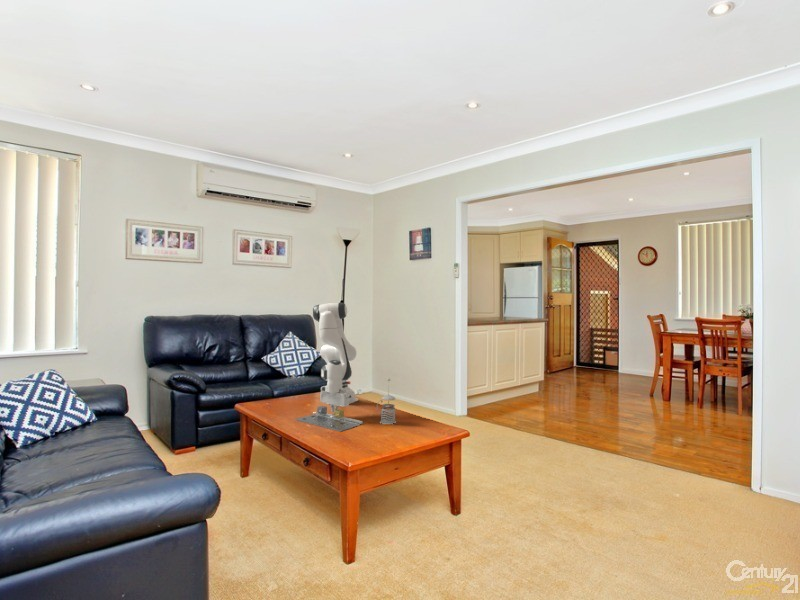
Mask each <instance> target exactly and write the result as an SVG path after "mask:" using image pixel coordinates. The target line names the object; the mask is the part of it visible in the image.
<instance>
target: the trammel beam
mask: <svg viewBox="0 0 800 600" xmlns="http://www.w3.org/2000/svg"><path fill="white" fill-rule="evenodd" d="M316 409H317V411H314V412H312V415H313V414H315V415H319V416H323V417H328V418H330V417H331V416H334V413H333V414H332V413H328V407H327V406H325V405H320V406H317V407H316ZM332 419H336V420H340V421H344V422H349V423H353V424H357V425H359V426H361V425H363V424H364V423H363V422H364V421H363V420H359V419H354V418H350V417H345V416H342V417H333V418H332ZM360 424H361V425H360Z"/></svg>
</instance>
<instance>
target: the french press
mask: <svg viewBox="0 0 800 600" xmlns="http://www.w3.org/2000/svg"><path fill="white" fill-rule="evenodd" d="M386 381H387V382H390V381H391V378H390V377H389V378H387V379H386ZM387 389H388V393H387V395H384V396H382V397H381V399H380V400H379V401H378V402H377V404H376V411H377V412H378V414H381V415H380V421H379V423H380V424H381V423H382V424H381V425H385V424H392V425H394V424H393V423H396V422H397V421H396V407H395V406H396V405H395V404H393V403H390V401H395V400H396V399H397V398H396V397H395V396H393V395H390V386H388V388H387ZM383 401H388V402H387V403H384V404H382V403H383ZM380 402H381V404H382V406H381V411H380V410H379V403H380ZM396 424H397V423H396Z"/></svg>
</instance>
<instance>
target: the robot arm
mask: <svg viewBox="0 0 800 600" xmlns="http://www.w3.org/2000/svg"><path fill="white" fill-rule="evenodd" d="M311 312H312V313H311V314H312V318H313V319H314V320H315V321H316V322H318V334H319V339H320V340H321V341H322V343H324V344H323V345H322V346H321V348H320V350H319V354H320V357H321V359H323V360H324V361H325V363H326V364H325V365H322V367H321V368H320V378H321V379H322V380H323V381H326V382H327V383H326V385H323V386H321V387H320V393H319V394H320V396H319V398H320V399H319V400H320V402H321V403H322V404H328V405H329V406H330V409H331V413H334V410H337V409H339V407H342V408H346V407H348V406H349V404H353V403H356V402H358V401H359V397H358V398H357V397H356V394H355V391H354V390H353V389H351V388H350V386H349V385H351V381H349V379H350V378H351V377H352V374H353V373H352V367H351V365H350V362H352V361H354V360H355V359H356V357H357V350H356V347H355V346H354V345H352V344H351V343H350V342H349V340H348V339H347V337H346V336H345V332H344V331H345V330H344V325H343V319H345V318H346V317H347V316H348V315H347V314H348V308H347V305H346V303H344V302H329V303H322V304H315V305H314V306H313V307H312V311H311Z"/></svg>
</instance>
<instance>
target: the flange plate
mask: <svg viewBox="0 0 800 600" xmlns="http://www.w3.org/2000/svg"><path fill="white" fill-rule="evenodd" d="M295 421H299V422H301V423H306V424H310V425H314V426H318V427H321V428H325V429H330V430H332V431H337V432H340V433H341V432H344V431H346V430H351V429H353V427H354V428H357V427H359V426H360V425H357V424H353V423H349V422H344V421H340V420H336V419H332V418H328V417H323V416H319V415H317V414H313V413H312V414H309V415H305V416H301V417H298V418H297V417H296V418H295ZM356 426H357V427H356Z"/></svg>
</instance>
